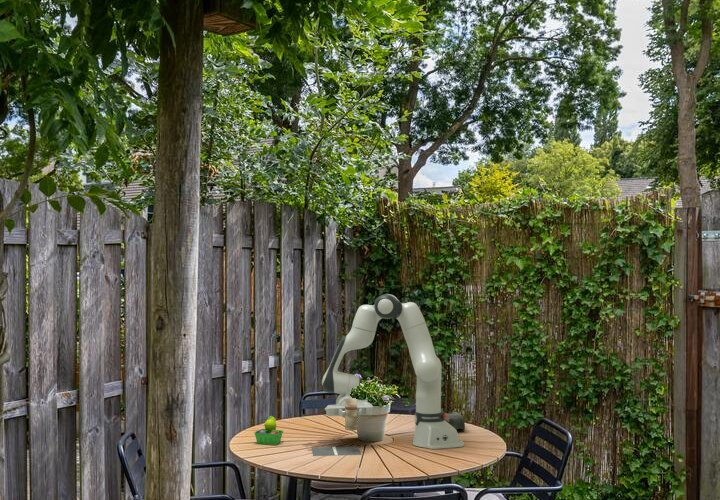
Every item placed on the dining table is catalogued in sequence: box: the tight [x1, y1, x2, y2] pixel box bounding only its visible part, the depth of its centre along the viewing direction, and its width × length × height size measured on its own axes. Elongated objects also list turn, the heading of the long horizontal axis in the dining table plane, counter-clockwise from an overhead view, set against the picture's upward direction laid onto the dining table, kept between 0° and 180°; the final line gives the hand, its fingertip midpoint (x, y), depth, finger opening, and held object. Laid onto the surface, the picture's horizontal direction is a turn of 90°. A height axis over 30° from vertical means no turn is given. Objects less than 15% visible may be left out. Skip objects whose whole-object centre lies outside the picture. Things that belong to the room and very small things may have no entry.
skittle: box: [344, 399, 358, 431], centre depth 270 cm, size 5×5×12 cm
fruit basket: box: [254, 415, 284, 446], centre depth 287 cm, size 11×9×11 cm
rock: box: [443, 411, 466, 432], centre depth 316 cm, size 18×11×8 cm, turn 10°
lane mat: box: [311, 445, 363, 457], centre depth 268 cm, size 20×14×1 cm
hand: (351, 413), depth 269 cm, fingers closed on skittle, 5 cm apart
